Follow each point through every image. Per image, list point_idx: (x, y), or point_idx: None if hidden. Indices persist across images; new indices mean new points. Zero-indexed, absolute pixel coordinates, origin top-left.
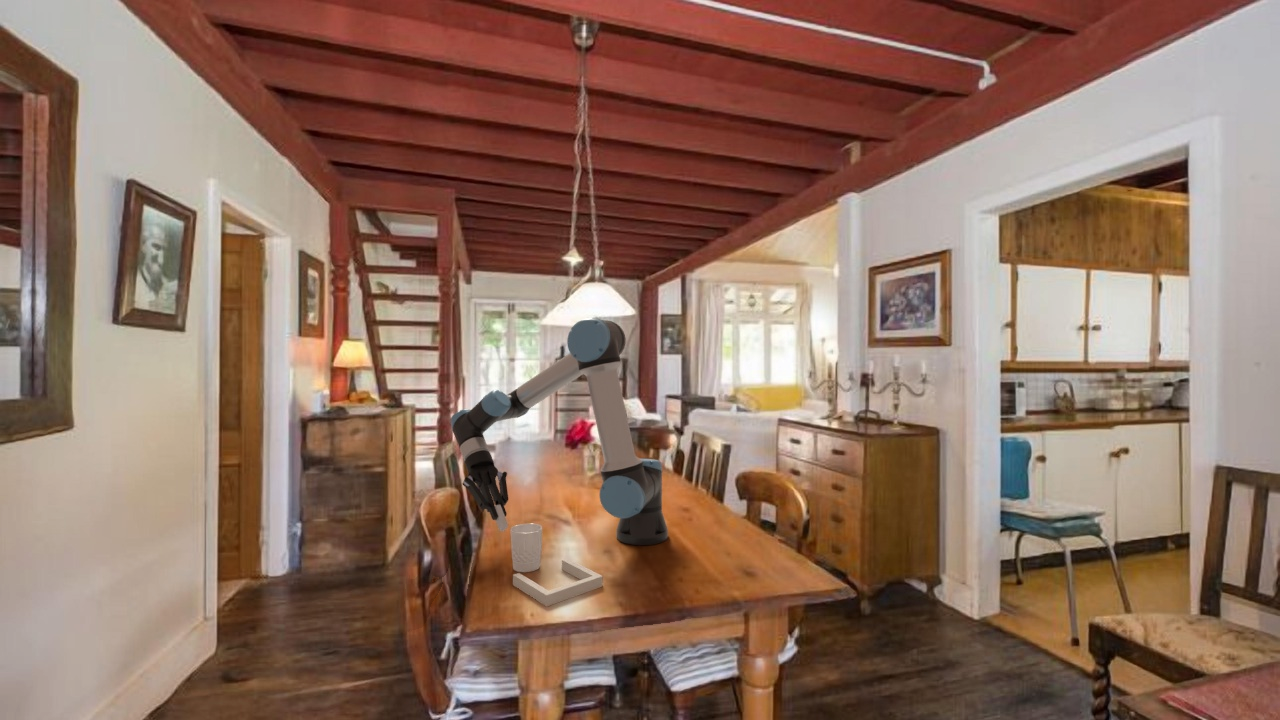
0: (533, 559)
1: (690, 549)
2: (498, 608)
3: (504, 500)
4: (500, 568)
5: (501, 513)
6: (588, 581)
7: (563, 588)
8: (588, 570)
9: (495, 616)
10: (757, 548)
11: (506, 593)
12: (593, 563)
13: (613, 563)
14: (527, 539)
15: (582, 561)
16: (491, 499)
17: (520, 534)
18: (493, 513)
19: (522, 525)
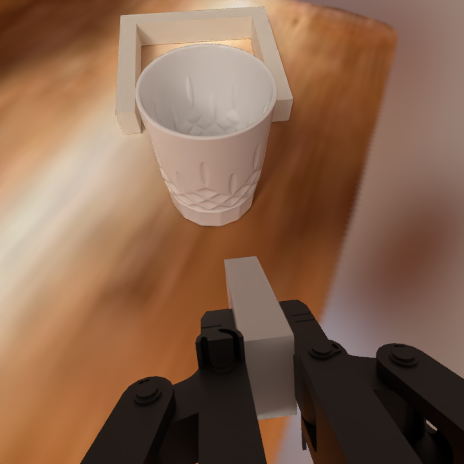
0: (208, 133)
1: None
2: (345, 57)
3: (173, 392)
4: (286, 225)
5: (249, 295)
6: (160, 14)
7: (221, 11)
8: (124, 43)
9: (356, 40)
10: None
11: (314, 95)
12: (48, 125)
13: (11, 103)
14: (229, 70)
15: (59, 149)
16: (336, 389)
17: (254, 60)
18: (308, 314)
19: (196, 139)
